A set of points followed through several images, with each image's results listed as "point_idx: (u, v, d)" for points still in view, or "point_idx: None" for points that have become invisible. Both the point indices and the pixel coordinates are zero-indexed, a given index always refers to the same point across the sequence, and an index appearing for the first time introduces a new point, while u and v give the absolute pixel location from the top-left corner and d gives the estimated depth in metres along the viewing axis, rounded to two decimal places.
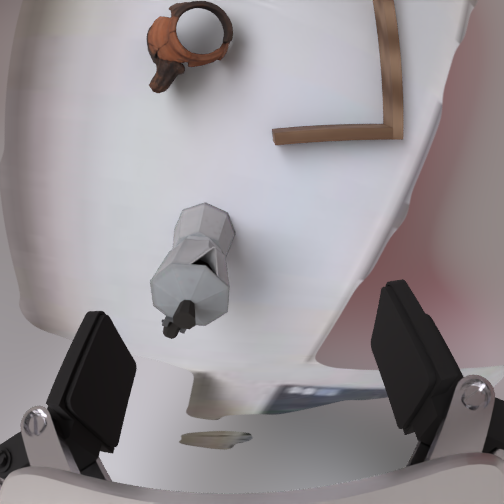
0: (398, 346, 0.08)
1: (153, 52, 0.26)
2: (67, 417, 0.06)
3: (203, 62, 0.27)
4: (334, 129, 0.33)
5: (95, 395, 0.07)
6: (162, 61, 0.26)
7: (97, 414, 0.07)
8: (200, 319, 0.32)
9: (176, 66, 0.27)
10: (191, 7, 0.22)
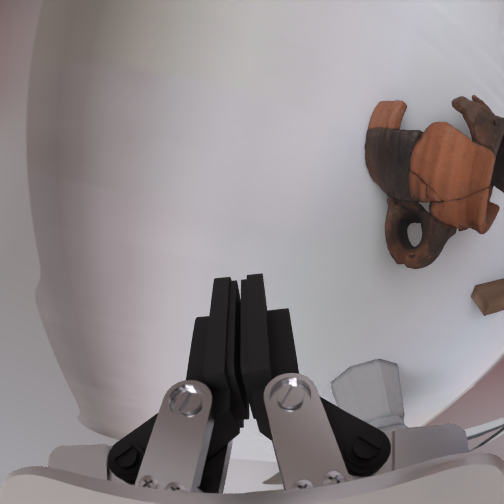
0: None
1: (421, 197, 0.14)
2: (222, 387, 0.07)
3: None
4: None
5: (240, 361, 0.08)
6: (436, 222, 0.15)
7: (242, 382, 0.08)
8: None
9: (450, 233, 0.15)
10: None
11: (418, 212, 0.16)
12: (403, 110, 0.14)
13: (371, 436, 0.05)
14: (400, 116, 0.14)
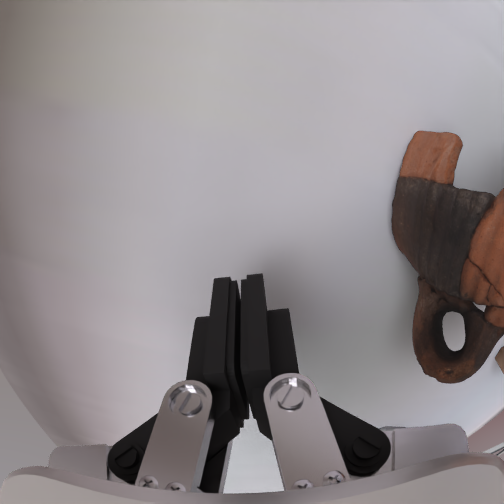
0: None
1: (477, 298, 0.08)
2: (222, 387, 0.07)
3: None
4: None
5: (240, 362, 0.08)
6: (489, 329, 0.08)
7: (242, 382, 0.08)
8: None
9: None
10: None
11: (465, 310, 0.09)
12: (458, 151, 0.08)
13: (371, 436, 0.05)
14: (454, 161, 0.08)
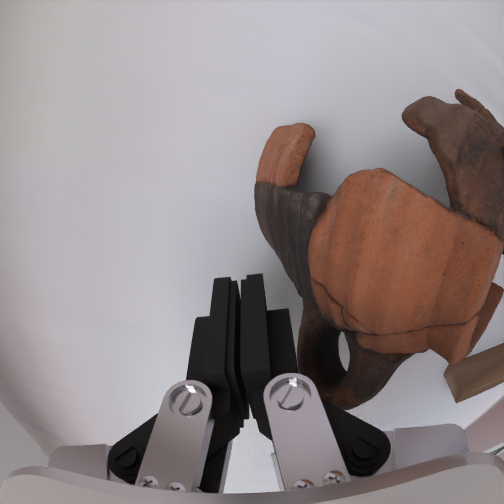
0: None
1: (336, 320, 0.08)
2: (222, 387, 0.07)
3: None
4: None
5: (240, 362, 0.08)
6: (369, 356, 0.08)
7: (242, 382, 0.08)
8: None
9: (403, 359, 0.09)
10: None
11: (343, 330, 0.09)
12: (306, 143, 0.08)
13: (371, 436, 0.05)
14: (299, 157, 0.08)
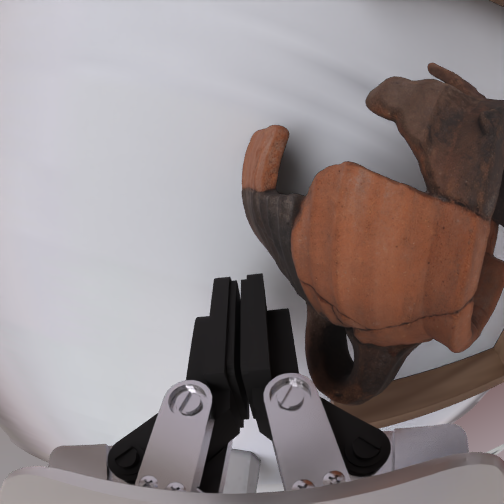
0: None
1: (331, 318, 0.08)
2: (222, 387, 0.07)
3: None
4: (434, 404, 0.16)
5: (240, 362, 0.08)
6: (371, 350, 0.08)
7: (242, 382, 0.08)
8: None
9: (410, 349, 0.09)
10: None
11: (344, 326, 0.09)
12: (281, 145, 0.08)
13: (371, 436, 0.05)
14: (275, 160, 0.08)
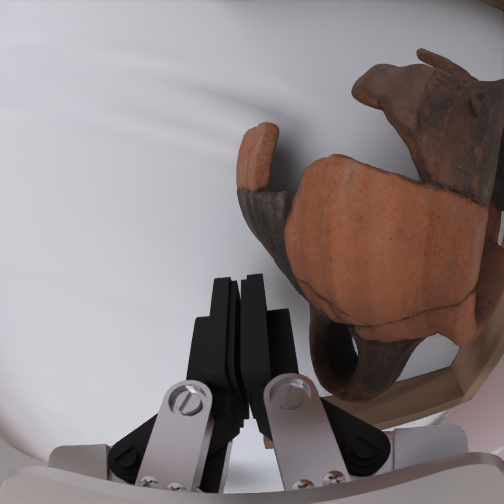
0: None
1: (331, 316, 0.08)
2: (222, 387, 0.07)
3: None
4: None
5: (240, 362, 0.08)
6: (375, 346, 0.08)
7: (242, 382, 0.08)
8: None
9: (415, 344, 0.08)
10: None
11: (346, 323, 0.09)
12: (271, 142, 0.08)
13: (371, 436, 0.05)
14: (266, 158, 0.08)
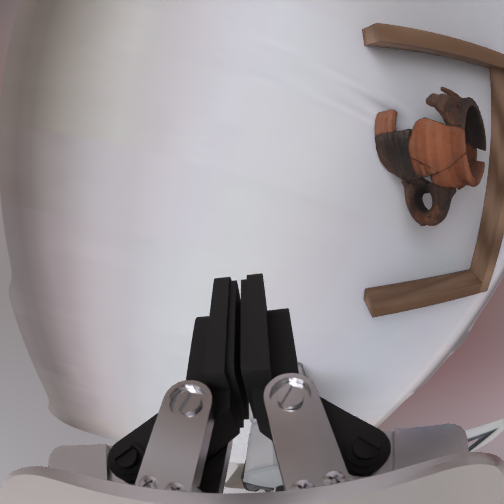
0: None
1: (423, 174, 0.20)
2: (222, 387, 0.07)
3: None
4: (432, 295, 0.28)
5: (240, 361, 0.08)
6: (438, 188, 0.20)
7: (242, 382, 0.08)
8: None
9: (452, 193, 0.20)
10: (466, 110, 0.16)
11: (425, 185, 0.21)
12: (395, 116, 0.20)
13: (371, 436, 0.05)
14: (394, 121, 0.20)
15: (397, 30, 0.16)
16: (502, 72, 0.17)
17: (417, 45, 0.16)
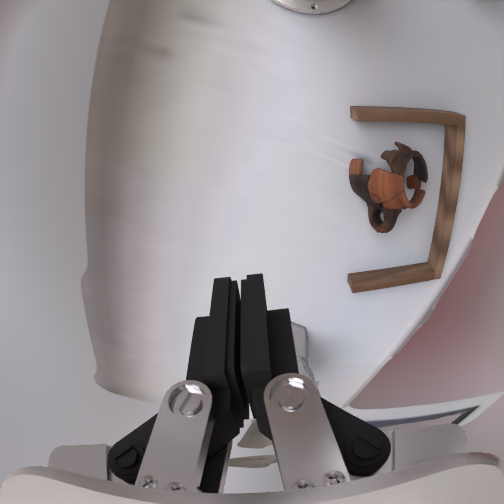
0: None
1: (377, 201, 0.35)
2: (222, 387, 0.07)
3: None
4: (395, 279, 0.44)
5: (240, 361, 0.08)
6: (387, 210, 0.35)
7: (242, 382, 0.08)
8: None
9: (397, 212, 0.35)
10: (407, 161, 0.31)
11: (379, 207, 0.36)
12: (362, 164, 0.35)
13: (371, 436, 0.05)
14: (361, 167, 0.35)
15: (372, 112, 0.31)
16: (453, 126, 0.32)
17: (385, 120, 0.31)
